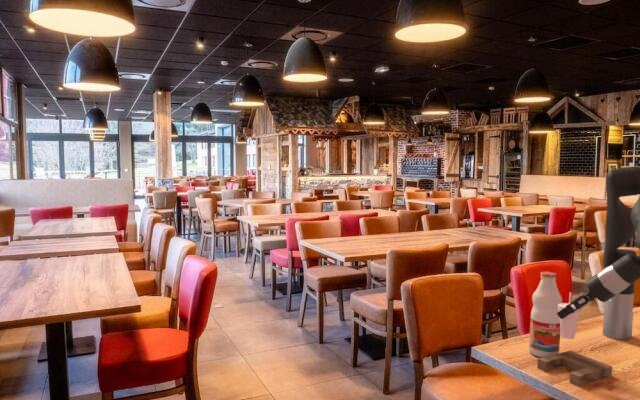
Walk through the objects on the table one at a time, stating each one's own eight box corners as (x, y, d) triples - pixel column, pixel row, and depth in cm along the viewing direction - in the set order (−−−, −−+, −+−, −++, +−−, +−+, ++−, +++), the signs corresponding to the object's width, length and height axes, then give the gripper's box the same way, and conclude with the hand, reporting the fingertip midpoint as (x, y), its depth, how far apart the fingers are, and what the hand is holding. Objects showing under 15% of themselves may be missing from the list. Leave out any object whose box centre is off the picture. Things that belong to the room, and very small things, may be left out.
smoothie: (558, 339, 148) (561, 293, 147) (553, 332, 154) (556, 288, 153) (582, 341, 146) (584, 295, 145) (576, 334, 152) (578, 290, 151)
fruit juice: (551, 349, 172) (557, 270, 170) (563, 360, 162) (569, 276, 160) (524, 348, 172) (529, 269, 170) (534, 358, 163) (539, 275, 161)
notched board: (570, 359, 163) (570, 350, 163) (611, 375, 151) (612, 366, 150) (537, 367, 156) (537, 358, 155) (578, 386, 143) (578, 376, 143)
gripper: (604, 268, 149) (561, 299, 158) (592, 276, 138) (546, 308, 147) (623, 288, 146) (578, 318, 154) (612, 298, 135) (564, 330, 144)
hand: (562, 313), depth 151 cm, fingers closed on smoothie, 6 cm apart
